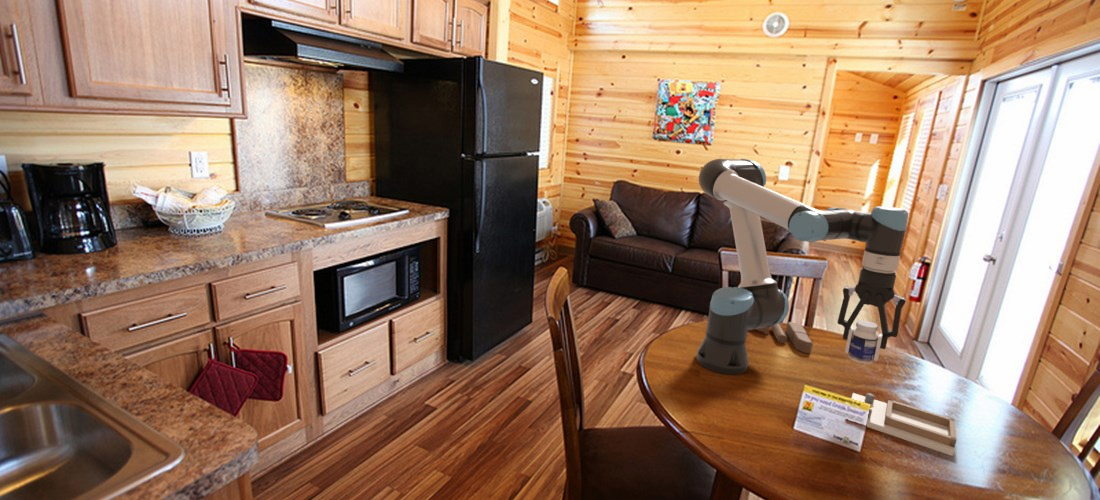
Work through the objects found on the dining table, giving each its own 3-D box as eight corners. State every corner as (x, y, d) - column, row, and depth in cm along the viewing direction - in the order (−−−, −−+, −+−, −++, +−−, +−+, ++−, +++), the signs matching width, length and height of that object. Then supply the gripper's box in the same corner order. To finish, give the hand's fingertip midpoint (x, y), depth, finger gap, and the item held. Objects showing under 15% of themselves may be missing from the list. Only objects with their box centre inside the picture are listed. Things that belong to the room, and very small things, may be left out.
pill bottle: (842, 354, 133) (849, 319, 131) (863, 354, 133) (870, 319, 131) (857, 364, 127) (864, 327, 125) (878, 364, 128) (885, 327, 125)
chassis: (845, 419, 129) (848, 407, 128) (851, 397, 140) (854, 386, 139) (952, 456, 116) (956, 443, 116) (950, 429, 127) (954, 416, 127)
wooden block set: (800, 319, 182) (814, 340, 165) (797, 334, 183) (811, 355, 166) (751, 313, 185) (760, 332, 168) (749, 327, 186) (757, 347, 169)
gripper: (834, 264, 127) (818, 349, 132) (924, 280, 116) (903, 371, 122) (838, 259, 133) (823, 340, 138) (925, 274, 122) (905, 361, 127)
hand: (861, 355), depth 130 cm, fingers closed on pill bottle, 6 cm apart
